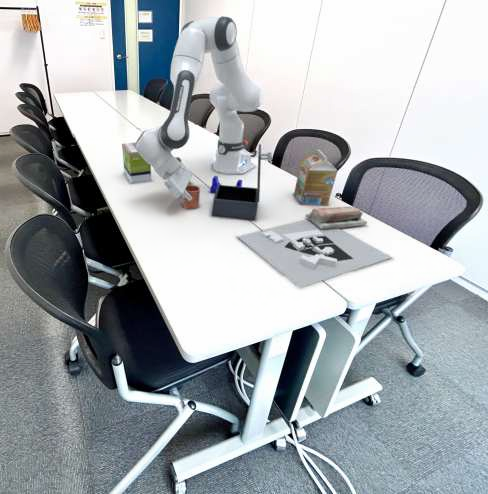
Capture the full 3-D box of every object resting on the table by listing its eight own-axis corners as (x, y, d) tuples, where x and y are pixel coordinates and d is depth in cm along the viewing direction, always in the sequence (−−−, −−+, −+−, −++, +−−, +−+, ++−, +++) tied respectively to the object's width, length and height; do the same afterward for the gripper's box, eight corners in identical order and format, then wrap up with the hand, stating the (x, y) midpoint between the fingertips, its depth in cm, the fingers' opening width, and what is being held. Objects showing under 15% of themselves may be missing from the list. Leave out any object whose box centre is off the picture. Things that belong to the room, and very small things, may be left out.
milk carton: (293, 193, 142) (303, 148, 132) (319, 194, 141) (331, 149, 131) (300, 204, 133) (311, 157, 123) (327, 205, 132) (341, 157, 122)
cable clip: (210, 192, 143) (211, 179, 140) (213, 189, 147) (214, 175, 144) (238, 197, 139) (239, 183, 136) (240, 193, 142) (242, 180, 139)
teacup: (191, 200, 136) (191, 184, 132) (202, 205, 132) (203, 188, 128) (180, 205, 133) (180, 188, 129) (191, 210, 129) (191, 192, 125)
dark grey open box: (212, 216, 125) (213, 199, 121) (216, 200, 137) (217, 184, 133) (255, 220, 121) (257, 203, 118) (255, 204, 133) (258, 188, 130)
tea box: (123, 173, 164) (121, 142, 156) (143, 171, 167) (142, 141, 159) (130, 184, 152) (128, 151, 144) (151, 181, 155) (151, 149, 147)
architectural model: (317, 218, 123) (319, 212, 122) (390, 258, 100) (393, 252, 99) (237, 237, 111) (238, 232, 110) (300, 288, 89) (301, 281, 88)
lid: (258, 156, 109) (273, 155, 108) (258, 144, 121) (272, 143, 120) (256, 202, 118) (270, 202, 116) (257, 187, 129) (269, 186, 128)
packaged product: (325, 217, 111) (307, 205, 120) (321, 230, 114) (304, 217, 122) (371, 213, 115) (351, 201, 123) (366, 226, 117) (347, 213, 126)
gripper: (168, 173, 117) (194, 201, 120) (180, 155, 134) (203, 181, 137) (156, 183, 120) (182, 211, 123) (169, 165, 137) (191, 190, 140)
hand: (193, 195), depth 130 cm, fingers closed on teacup, 6 cm apart
